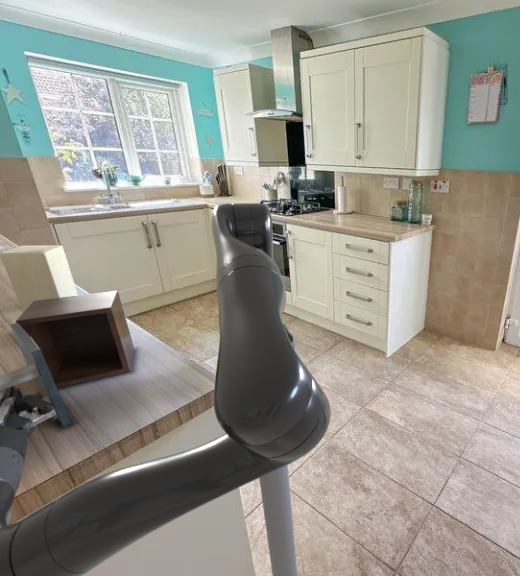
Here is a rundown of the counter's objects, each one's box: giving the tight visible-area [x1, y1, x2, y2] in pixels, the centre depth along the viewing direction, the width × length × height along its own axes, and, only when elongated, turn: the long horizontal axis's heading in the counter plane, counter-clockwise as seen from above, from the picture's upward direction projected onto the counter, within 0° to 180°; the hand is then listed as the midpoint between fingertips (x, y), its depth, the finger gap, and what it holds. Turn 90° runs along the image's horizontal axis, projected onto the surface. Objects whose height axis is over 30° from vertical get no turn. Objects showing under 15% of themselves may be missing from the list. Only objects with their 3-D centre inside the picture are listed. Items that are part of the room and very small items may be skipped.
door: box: [0, 322, 72, 427], centre depth 53 cm, size 7×13×15 cm, turn 56°
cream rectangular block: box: [0, 244, 79, 313], centre depth 77 cm, size 8×7×21 cm
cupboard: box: [15, 290, 136, 389], centre depth 66 cm, size 9×13×15 cm
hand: (1, 394), depth 50 cm, fingers closed on door
